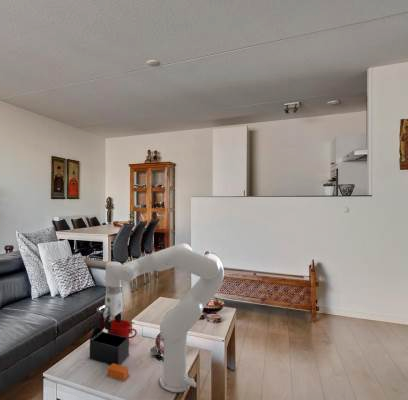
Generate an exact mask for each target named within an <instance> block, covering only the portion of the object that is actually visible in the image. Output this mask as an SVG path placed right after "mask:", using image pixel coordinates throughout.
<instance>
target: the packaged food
mask: <svg viewBox="0 0 408 400" xmlns="http://www.w3.org/2000/svg"><path fill="white" fill-rule="evenodd" d="M149 354H150V355H154V356H156V357H159V358H161V357H160V356H157V355H158V352H157V349H156V345H153V347H151V348H150V350H149ZM162 358H163V359H164V357H162Z"/></svg>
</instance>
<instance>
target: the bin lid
mask: <svg viewBox="0 0 408 400" xmlns="http://www.w3.org/2000/svg"><path fill="white" fill-rule="evenodd" d="M104 311H105V304H102V305H100V306H99V307H97V308H96V312H98V313H100V314H99V316H98V319H97V321H96V323H95V325H94V328H93V330H92V332H91V335H90V337H89V341H90V340H92V339H93V338H94V337H96V336H97V335H98V334H99V333H101V332H104V330H105V321H104V316H103V313H104ZM109 314H110V313H109ZM108 317H109V318H110V316H108Z"/></svg>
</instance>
